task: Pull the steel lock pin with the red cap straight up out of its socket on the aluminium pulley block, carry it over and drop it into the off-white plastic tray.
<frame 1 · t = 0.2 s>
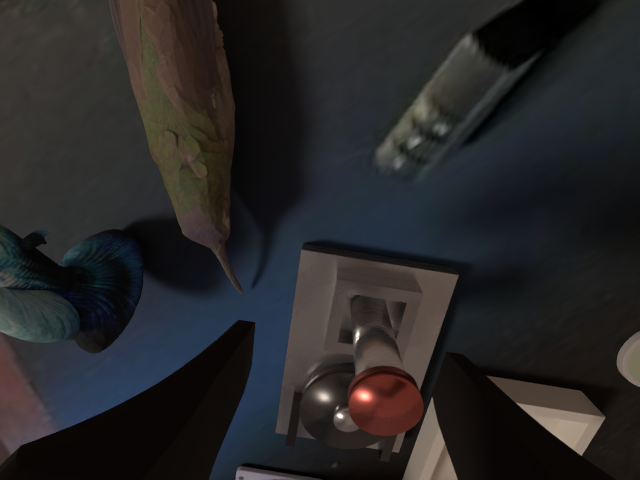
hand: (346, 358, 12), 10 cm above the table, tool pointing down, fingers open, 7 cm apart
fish: (128, 241, 22), on the table
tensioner: (355, 352, 24), on the table
pin: (368, 309, 21), point 1 cm above the table, touching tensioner
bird: (204, 98, 18), on the table
tray: (482, 443, 26), on the table
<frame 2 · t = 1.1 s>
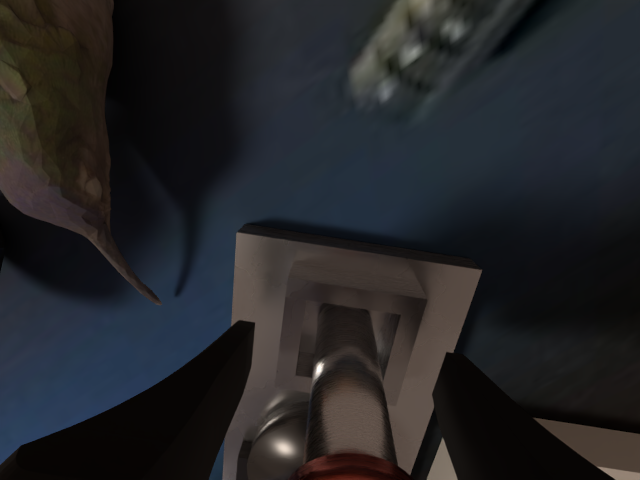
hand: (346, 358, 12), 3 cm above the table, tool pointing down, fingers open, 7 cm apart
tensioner: (329, 383, 16), on the table
pin: (344, 324, 14), point 1 cm above the table, touching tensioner
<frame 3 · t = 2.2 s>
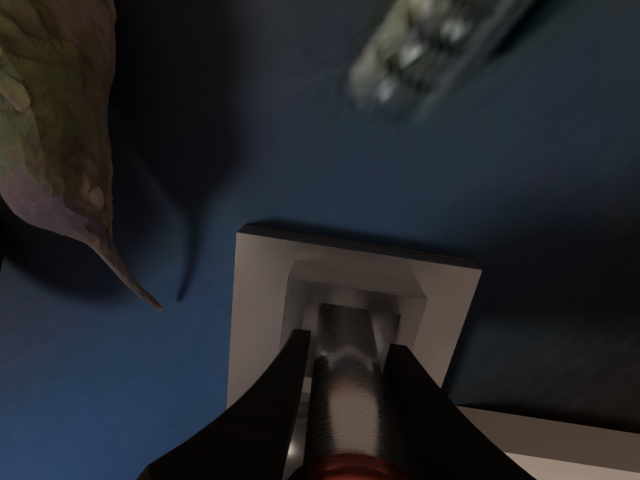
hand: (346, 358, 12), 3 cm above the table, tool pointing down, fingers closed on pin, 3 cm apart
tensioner: (329, 383, 16), on the table
pin: (344, 324, 14), point 1 cm above the table, touching gripper, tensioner
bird: (77, 3, 12), on the table
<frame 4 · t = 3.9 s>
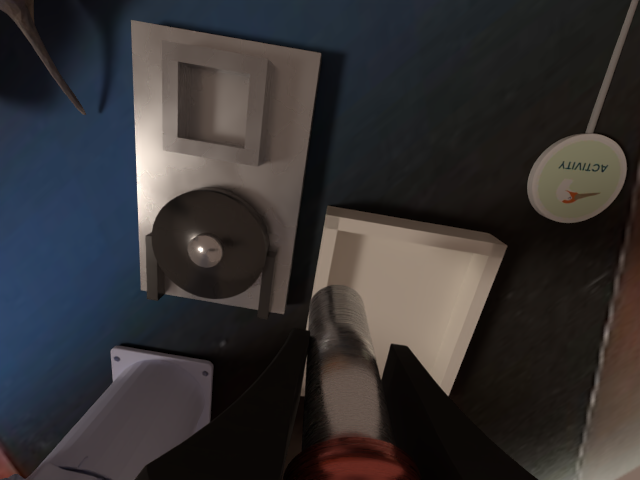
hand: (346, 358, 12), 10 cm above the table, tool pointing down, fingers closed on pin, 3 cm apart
sign: (595, 91, 18), on the table
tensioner: (225, 184, 20), on the table
pin: (336, 308, 14), point 8 cm above the table, touching gripper
tray: (384, 309, 22), on the table
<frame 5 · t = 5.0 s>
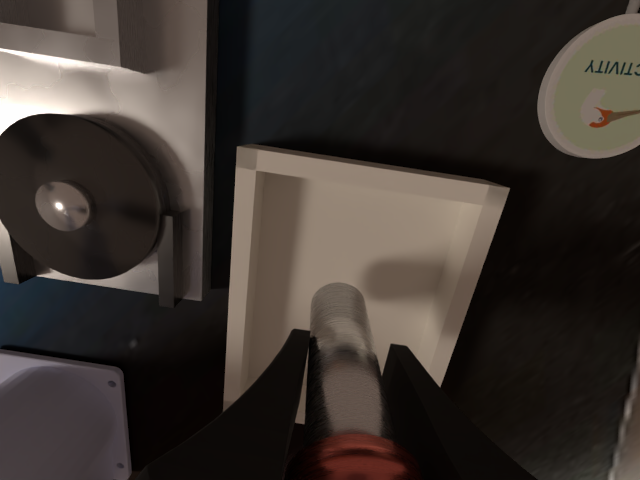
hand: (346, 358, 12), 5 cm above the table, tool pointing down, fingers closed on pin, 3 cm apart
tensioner: (105, 116, 14), on the table
pin: (337, 306, 14), point 3 cm above the table, touching gripper
tray: (342, 293, 16), on the table
when the fingers open (4 cm above the table, at t = 5.9 s): pin drops 1 cm, resting on tray.
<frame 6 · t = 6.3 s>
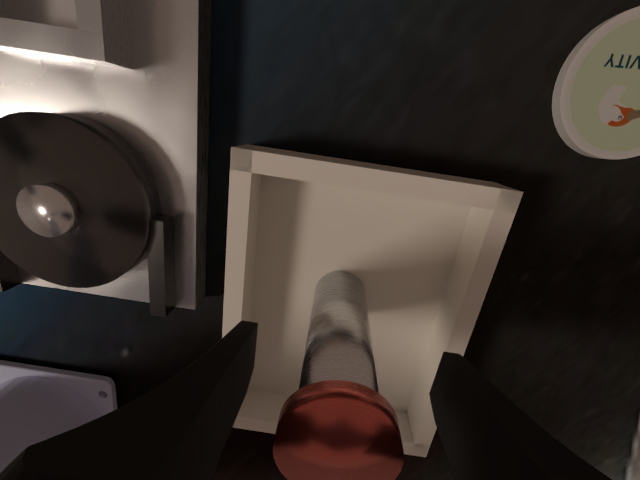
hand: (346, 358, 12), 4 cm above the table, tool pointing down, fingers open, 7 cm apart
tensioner: (92, 115, 13), on the table
pin: (339, 293, 15), point 1 cm above the table, touching tray
tray: (343, 300, 16), on the table
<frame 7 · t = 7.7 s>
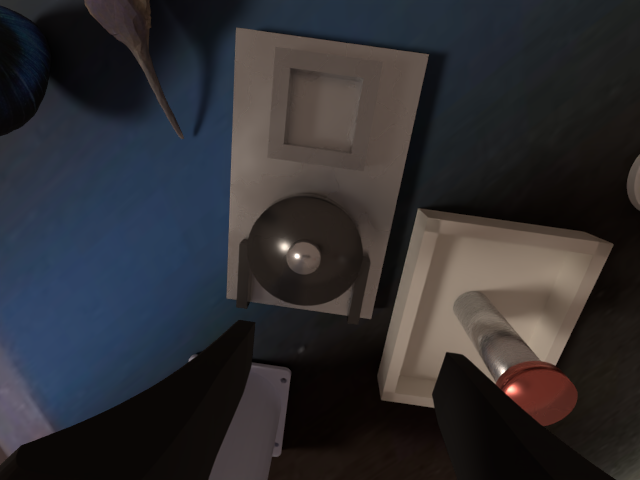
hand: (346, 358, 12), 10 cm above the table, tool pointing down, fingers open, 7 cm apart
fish: (37, 46, 18), on the table
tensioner: (314, 190, 20), on the table
pin: (471, 306, 21), point 1 cm above the table, touching tray
tray: (469, 311, 22), on the table
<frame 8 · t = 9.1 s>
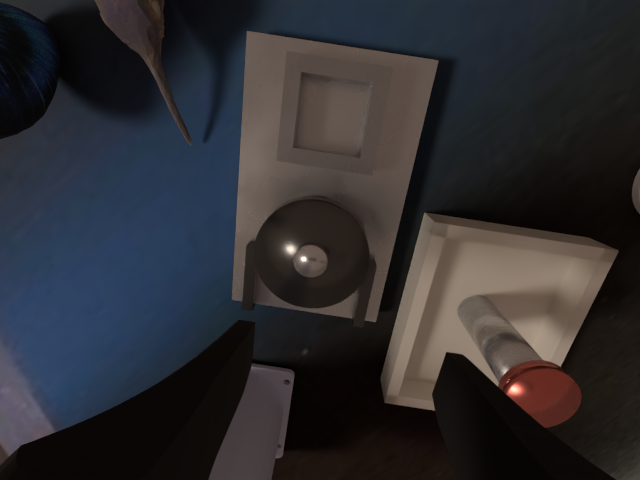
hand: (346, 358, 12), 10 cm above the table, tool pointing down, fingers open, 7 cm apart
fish: (47, 46, 18), on the table
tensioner: (321, 193, 20), on the table
pin: (475, 310, 22), point 1 cm above the table, touching tray
tray: (473, 315, 22), on the table
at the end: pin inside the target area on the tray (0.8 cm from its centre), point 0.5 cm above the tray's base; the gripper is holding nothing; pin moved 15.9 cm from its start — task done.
